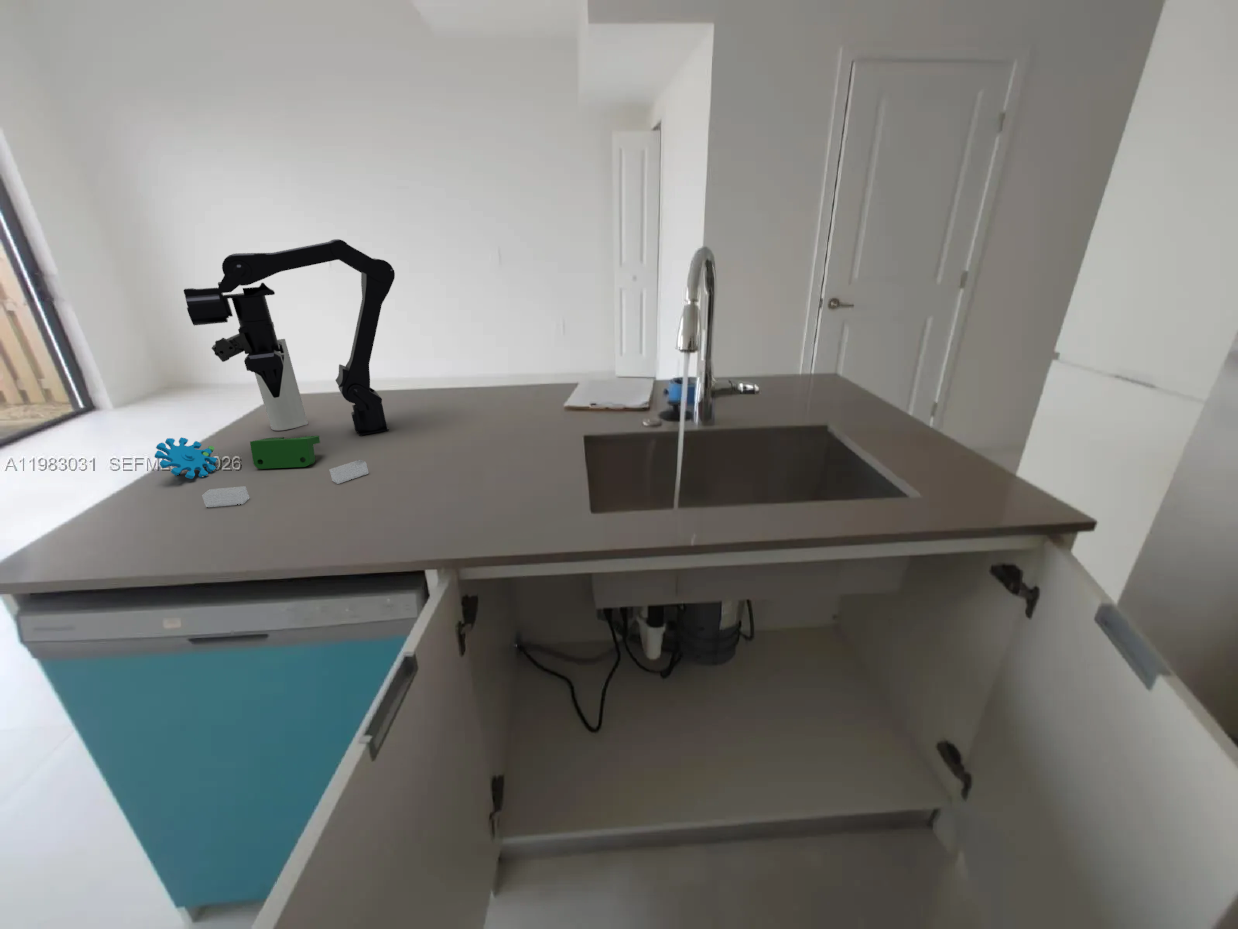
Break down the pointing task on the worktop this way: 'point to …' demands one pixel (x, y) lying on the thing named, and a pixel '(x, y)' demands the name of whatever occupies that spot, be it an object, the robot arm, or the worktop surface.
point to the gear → (186, 457)
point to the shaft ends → (241, 495)
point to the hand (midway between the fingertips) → (276, 393)
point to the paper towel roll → (284, 398)
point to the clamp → (284, 452)
